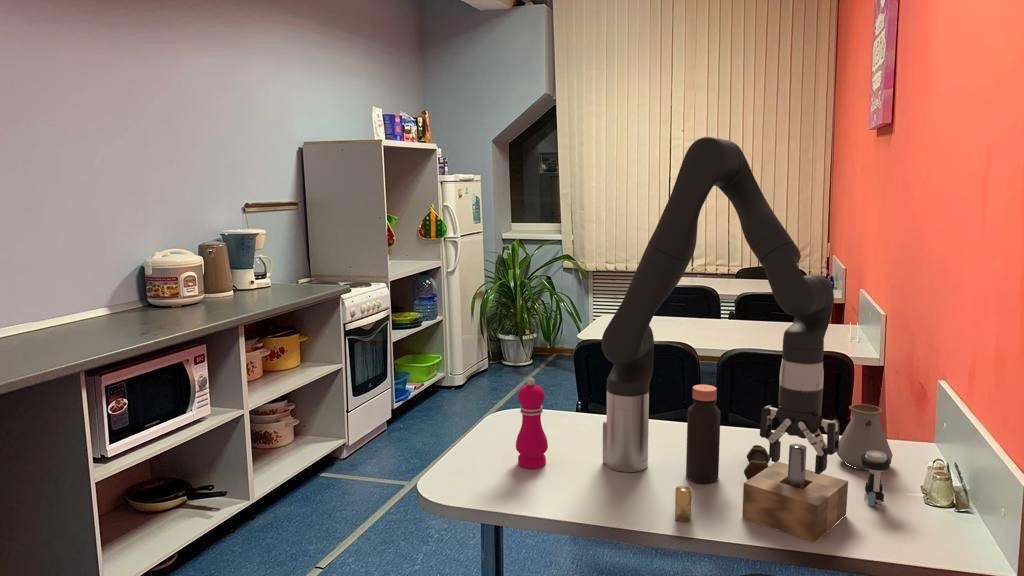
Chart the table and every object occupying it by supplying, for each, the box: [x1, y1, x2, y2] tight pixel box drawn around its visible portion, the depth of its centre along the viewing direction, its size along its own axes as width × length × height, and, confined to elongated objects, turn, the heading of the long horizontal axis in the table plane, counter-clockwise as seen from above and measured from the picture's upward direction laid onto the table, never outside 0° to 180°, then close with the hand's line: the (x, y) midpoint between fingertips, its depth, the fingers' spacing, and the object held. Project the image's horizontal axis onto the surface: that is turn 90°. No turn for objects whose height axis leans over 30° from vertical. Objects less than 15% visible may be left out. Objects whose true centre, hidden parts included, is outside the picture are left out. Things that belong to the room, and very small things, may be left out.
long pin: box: [787, 443, 807, 489], centre depth 142 cm, size 3×3×14 cm
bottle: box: [685, 384, 721, 485], centre depth 159 cm, size 7×7×20 cm
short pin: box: [674, 485, 693, 524], centre depth 142 cm, size 3×3×6 cm
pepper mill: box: [515, 377, 549, 470], centre depth 168 cm, size 7×7×20 cm
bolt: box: [743, 444, 771, 481], centre depth 163 cm, size 6×5×15 cm
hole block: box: [741, 461, 849, 543], centre depth 142 cm, size 14×14×7 cm
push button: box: [861, 450, 892, 510], centre depth 147 cm, size 7×5×10 cm
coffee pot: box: [836, 403, 893, 472], centre depth 161 cm, size 21×12×15 cm, turn 156°
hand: (796, 466), depth 141 cm, fingers open, 8 cm apart
